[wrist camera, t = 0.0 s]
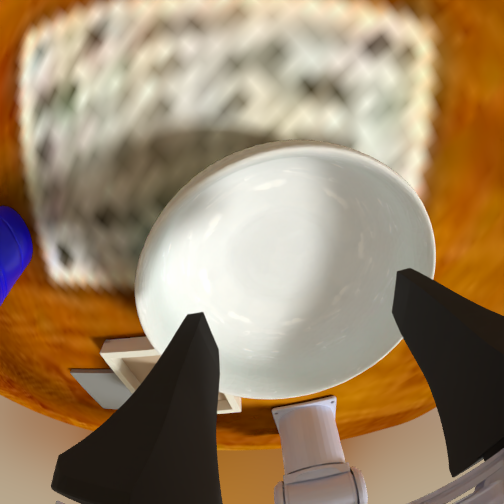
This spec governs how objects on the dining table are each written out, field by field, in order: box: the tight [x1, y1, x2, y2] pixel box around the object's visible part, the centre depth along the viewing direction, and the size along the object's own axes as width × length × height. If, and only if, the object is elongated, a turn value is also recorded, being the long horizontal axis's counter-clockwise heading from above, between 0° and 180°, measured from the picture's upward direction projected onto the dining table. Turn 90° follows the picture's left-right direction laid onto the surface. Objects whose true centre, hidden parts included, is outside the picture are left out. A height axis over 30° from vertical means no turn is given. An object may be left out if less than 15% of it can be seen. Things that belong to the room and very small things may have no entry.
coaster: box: [70, 369, 132, 409], centre depth 28 cm, size 8×8×1 cm
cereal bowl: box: [135, 140, 436, 399], centre depth 17 cm, size 17×17×7 cm
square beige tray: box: [100, 336, 241, 414], centre depth 26 cm, size 12×11×2 cm
